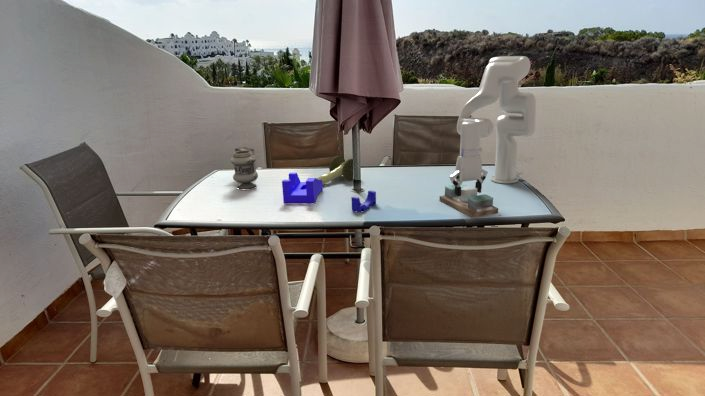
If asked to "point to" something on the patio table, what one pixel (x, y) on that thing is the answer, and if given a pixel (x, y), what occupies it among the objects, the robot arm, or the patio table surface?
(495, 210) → the board
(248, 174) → the apothecary jar
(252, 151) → the grey brown jug
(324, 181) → the cannon
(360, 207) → the blue u-shaped piece
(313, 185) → the bracket
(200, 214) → the patio table surface
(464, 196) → the small box
